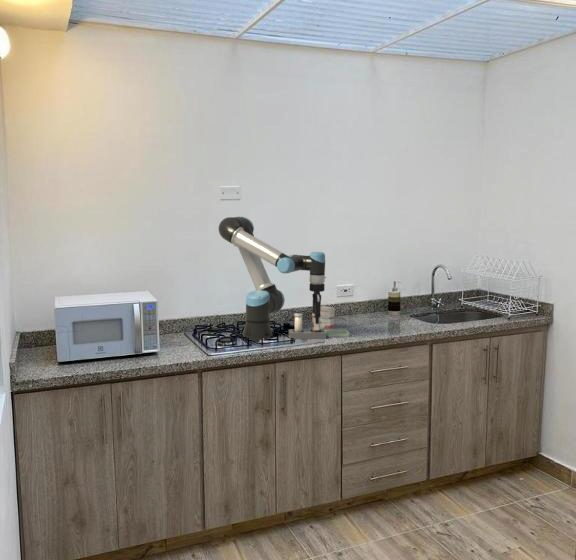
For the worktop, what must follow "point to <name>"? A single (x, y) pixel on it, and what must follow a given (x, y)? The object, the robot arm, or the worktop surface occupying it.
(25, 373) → the worktop surface
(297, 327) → the cylinder
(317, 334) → the fuse block
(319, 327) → the fuse
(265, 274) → the robot arm
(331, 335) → the parts tray
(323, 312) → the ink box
